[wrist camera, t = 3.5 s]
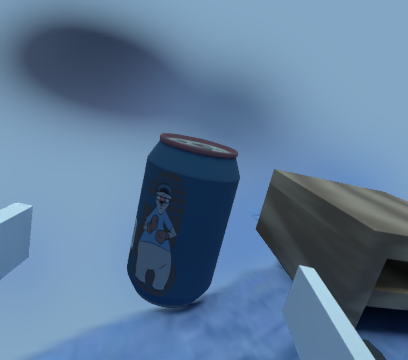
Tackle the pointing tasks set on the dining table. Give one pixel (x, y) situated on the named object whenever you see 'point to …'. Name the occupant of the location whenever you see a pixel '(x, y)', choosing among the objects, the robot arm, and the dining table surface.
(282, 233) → the shelf
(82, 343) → the dining table surface
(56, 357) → the dining table surface
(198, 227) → the soda can
